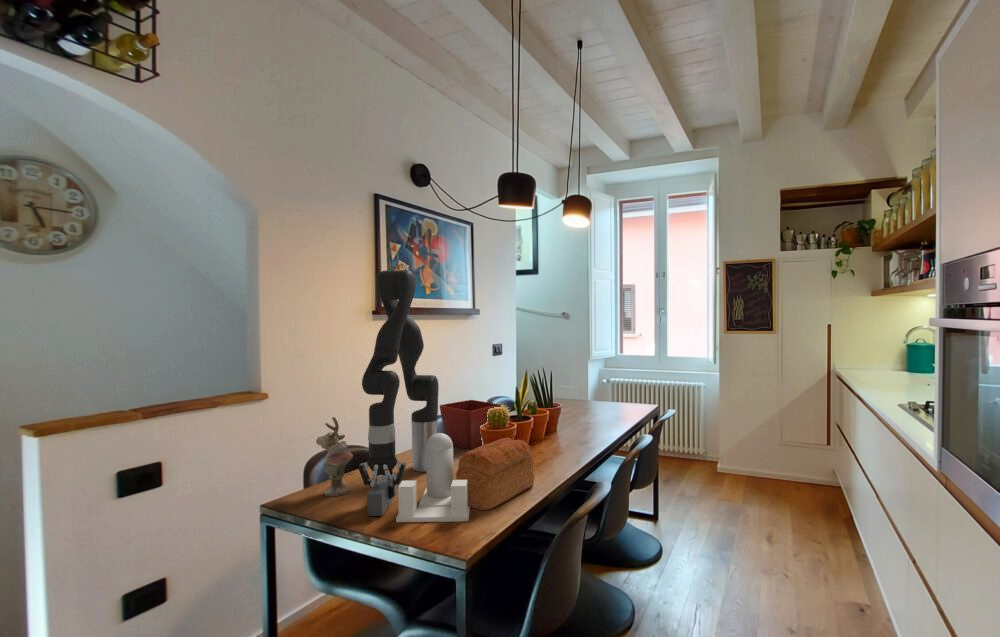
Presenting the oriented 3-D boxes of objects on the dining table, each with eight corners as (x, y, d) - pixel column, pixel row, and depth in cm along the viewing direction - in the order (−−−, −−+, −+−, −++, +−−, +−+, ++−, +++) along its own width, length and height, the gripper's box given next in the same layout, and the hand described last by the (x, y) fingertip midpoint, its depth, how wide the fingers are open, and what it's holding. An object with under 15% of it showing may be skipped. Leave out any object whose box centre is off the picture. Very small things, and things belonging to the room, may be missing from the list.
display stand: (411, 491, 153) (410, 430, 153) (473, 491, 153) (472, 429, 153) (396, 522, 131) (395, 449, 130) (468, 521, 130) (466, 448, 130)
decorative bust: (312, 482, 159) (320, 407, 157) (352, 486, 161) (361, 411, 159) (302, 498, 148) (310, 417, 146) (345, 501, 150) (354, 421, 148)
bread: (450, 503, 144) (449, 451, 144) (502, 477, 166) (501, 432, 166) (489, 513, 136) (488, 458, 136) (538, 485, 158) (537, 437, 158)
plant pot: (502, 443, 209) (502, 404, 209) (469, 453, 196) (469, 410, 196) (471, 436, 223) (471, 399, 223) (438, 445, 209) (438, 405, 209)
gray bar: (383, 491, 152) (383, 472, 152) (396, 491, 152) (396, 472, 152) (367, 515, 134) (367, 493, 134) (382, 515, 134) (382, 493, 134)
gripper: (408, 435, 147) (409, 493, 147) (361, 436, 147) (362, 494, 147) (403, 442, 139) (405, 503, 139) (353, 443, 139) (354, 504, 139)
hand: (383, 498), depth 143 cm, fingers closed on gray bar, 4 cm apart
